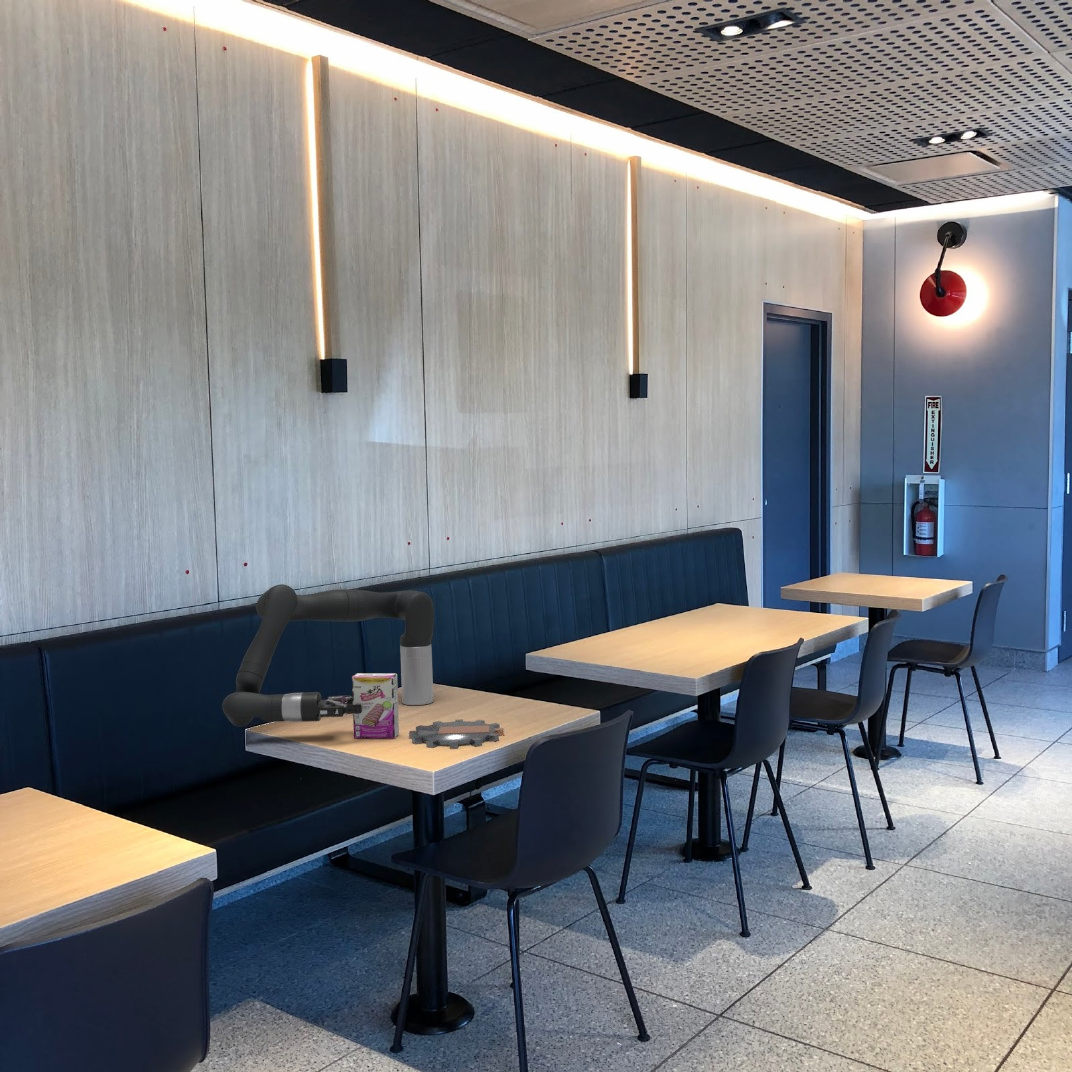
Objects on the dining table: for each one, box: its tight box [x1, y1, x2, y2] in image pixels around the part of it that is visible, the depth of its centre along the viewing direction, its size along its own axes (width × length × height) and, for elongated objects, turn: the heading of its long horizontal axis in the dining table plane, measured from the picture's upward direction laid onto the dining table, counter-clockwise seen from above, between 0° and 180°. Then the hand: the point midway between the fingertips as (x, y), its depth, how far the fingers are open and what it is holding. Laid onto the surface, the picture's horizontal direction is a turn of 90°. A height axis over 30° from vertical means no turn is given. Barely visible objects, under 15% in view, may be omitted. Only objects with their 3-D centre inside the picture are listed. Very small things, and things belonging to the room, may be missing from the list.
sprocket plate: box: [408, 718, 505, 749], centre depth 289 cm, size 24×24×2 cm
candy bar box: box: [351, 672, 400, 739], centre depth 290 cm, size 11×5×16 cm, turn 84°
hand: (364, 705), depth 290 cm, fingers open, 8 cm apart
